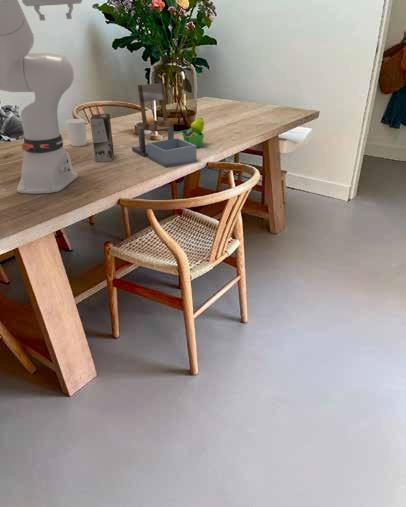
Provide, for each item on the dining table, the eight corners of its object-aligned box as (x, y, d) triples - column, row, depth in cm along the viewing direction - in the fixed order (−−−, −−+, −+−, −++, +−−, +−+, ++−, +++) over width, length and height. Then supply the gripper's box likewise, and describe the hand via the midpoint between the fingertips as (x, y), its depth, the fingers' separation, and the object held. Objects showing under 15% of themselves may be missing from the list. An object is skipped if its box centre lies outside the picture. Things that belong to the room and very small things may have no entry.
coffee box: (112, 161, 163) (107, 118, 155) (95, 162, 162) (89, 118, 154) (114, 154, 171) (110, 113, 163) (98, 155, 170) (93, 113, 162)
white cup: (83, 147, 180) (79, 123, 175) (66, 146, 182) (62, 122, 177) (91, 142, 187) (88, 119, 182) (74, 141, 188) (71, 118, 184)
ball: (154, 127, 170) (153, 116, 168) (144, 127, 170) (143, 117, 168) (155, 125, 174) (154, 115, 172) (145, 126, 174) (144, 116, 172)
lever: (136, 130, 172) (129, 85, 165) (158, 126, 177) (153, 83, 170) (152, 132, 160) (146, 84, 154) (176, 128, 165) (171, 82, 159)
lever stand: (132, 150, 175) (129, 124, 170) (164, 145, 182) (162, 119, 177) (144, 157, 167) (142, 129, 162) (177, 151, 174) (176, 124, 169)
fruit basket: (181, 142, 187) (180, 115, 181) (200, 140, 189) (200, 114, 183) (186, 149, 177) (186, 121, 171) (207, 147, 179) (207, 120, 173)
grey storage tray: (148, 158, 166) (147, 143, 163) (178, 152, 172) (177, 137, 169) (165, 167, 156) (164, 151, 153) (196, 161, 162) (196, 145, 160)
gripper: (13, -27, 142) (23, 20, 148) (75, -30, 142) (82, 17, 149) (19, -24, 147) (29, 21, 154) (79, -27, 148) (86, 18, 154)
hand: (56, 19), depth 151 cm, fingers open, 8 cm apart
